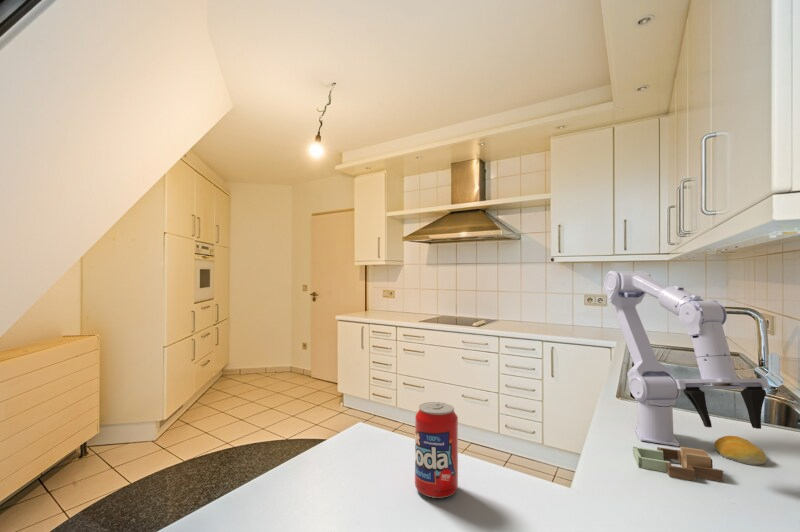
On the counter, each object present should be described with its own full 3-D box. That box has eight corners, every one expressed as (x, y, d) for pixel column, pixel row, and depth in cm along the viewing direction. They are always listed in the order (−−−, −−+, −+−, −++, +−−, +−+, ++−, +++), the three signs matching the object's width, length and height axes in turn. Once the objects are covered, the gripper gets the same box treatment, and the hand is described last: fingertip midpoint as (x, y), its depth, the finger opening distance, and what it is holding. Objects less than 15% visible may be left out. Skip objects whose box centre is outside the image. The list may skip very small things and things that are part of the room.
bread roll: (726, 463, 81) (725, 444, 81) (710, 446, 89) (709, 429, 89) (776, 470, 77) (775, 450, 78) (754, 452, 86) (753, 435, 86)
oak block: (681, 465, 79) (680, 446, 79) (704, 469, 77) (703, 449, 77) (686, 474, 75) (686, 454, 75) (711, 478, 73) (710, 457, 74)
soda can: (464, 486, 69) (464, 404, 70) (447, 507, 63) (447, 416, 64) (426, 475, 73) (427, 398, 74) (407, 494, 67) (407, 408, 68)
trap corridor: (631, 452, 85) (631, 443, 85) (708, 464, 79) (707, 454, 79) (640, 471, 76) (640, 461, 76) (727, 486, 70) (726, 476, 70)
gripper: (676, 356, 77) (693, 428, 72) (766, 354, 71) (790, 430, 67) (668, 359, 83) (683, 425, 79) (751, 356, 77) (772, 427, 73)
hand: (732, 427), depth 73 cm, fingers open, 7 cm apart
